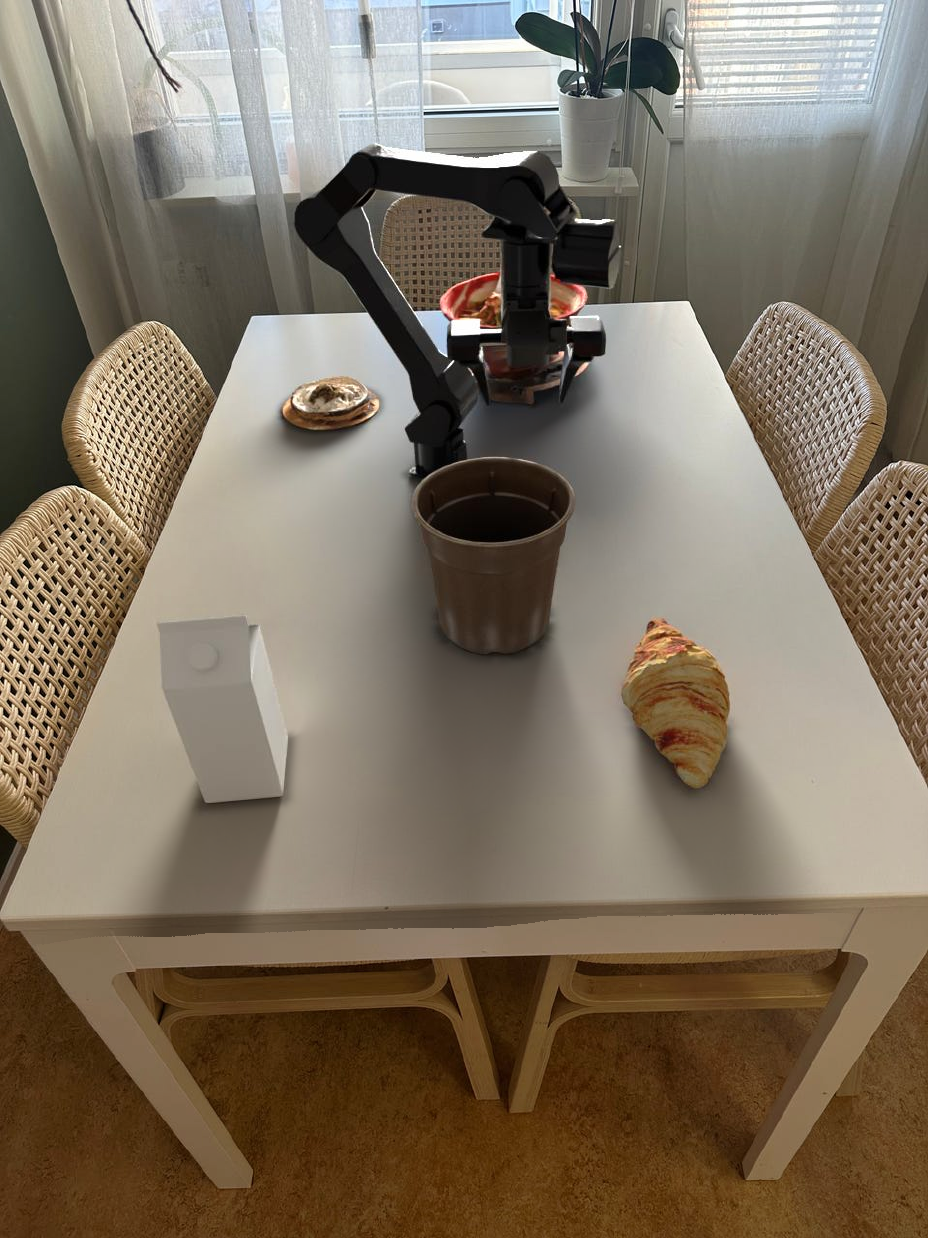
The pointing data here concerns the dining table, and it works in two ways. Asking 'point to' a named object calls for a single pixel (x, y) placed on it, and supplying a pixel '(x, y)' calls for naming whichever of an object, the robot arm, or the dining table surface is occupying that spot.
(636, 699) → the croissant
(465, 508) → the plant pot
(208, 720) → the milk carton
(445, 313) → the stew
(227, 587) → the dining table surface
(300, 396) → the stacked pancakes
